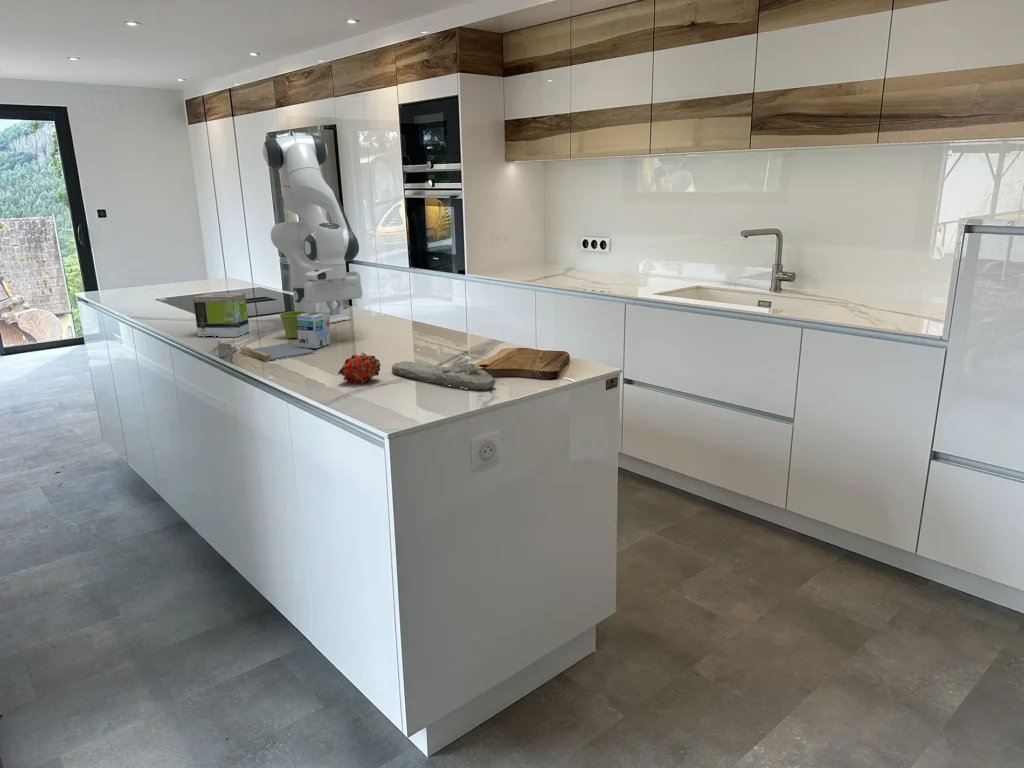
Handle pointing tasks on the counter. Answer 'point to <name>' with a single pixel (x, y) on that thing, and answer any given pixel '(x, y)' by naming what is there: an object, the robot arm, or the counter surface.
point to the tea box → (221, 314)
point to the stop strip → (256, 353)
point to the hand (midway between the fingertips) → (335, 314)
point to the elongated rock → (446, 374)
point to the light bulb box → (313, 329)
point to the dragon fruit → (360, 368)
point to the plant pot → (291, 323)
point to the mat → (284, 350)
